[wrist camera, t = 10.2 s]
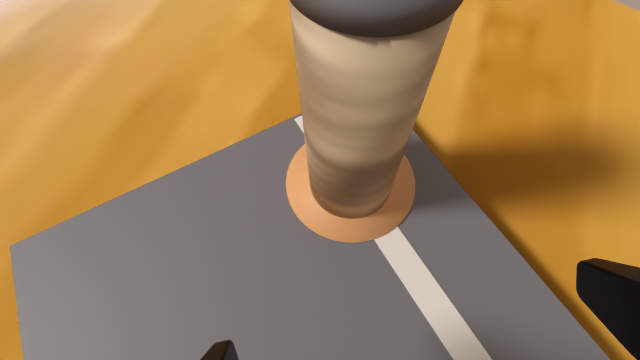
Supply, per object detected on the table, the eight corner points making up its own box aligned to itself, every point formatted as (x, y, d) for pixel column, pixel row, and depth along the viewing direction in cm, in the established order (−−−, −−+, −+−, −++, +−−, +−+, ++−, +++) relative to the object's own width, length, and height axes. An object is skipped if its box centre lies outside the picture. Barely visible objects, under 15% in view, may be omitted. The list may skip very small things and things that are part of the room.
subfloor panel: (601, 377, 15) (629, 379, 14) (111, 770, 11) (78, 833, 9) (369, 97, 23) (371, 80, 22) (32, 254, 19) (7, 245, 17)
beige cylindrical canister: (410, 194, 18) (525, -42, 7) (334, 236, 17) (343, 33, 6) (363, 133, 20) (401, -125, 9) (293, 167, 19) (247, -78, 8)
